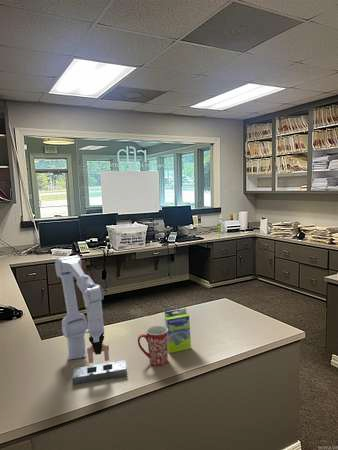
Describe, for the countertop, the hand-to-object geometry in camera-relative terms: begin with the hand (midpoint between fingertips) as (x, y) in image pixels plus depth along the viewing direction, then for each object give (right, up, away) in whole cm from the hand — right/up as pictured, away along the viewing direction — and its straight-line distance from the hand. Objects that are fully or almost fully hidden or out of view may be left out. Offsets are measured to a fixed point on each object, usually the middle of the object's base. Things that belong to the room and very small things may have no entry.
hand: (98, 352), depth 127 cm
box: (+32, -6, +18) cm, 37 cm away
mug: (+21, -8, +9) cm, 24 cm away
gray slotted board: (+1, -10, +1) cm, 10 cm away
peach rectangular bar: (0, -3, 0) cm, 3 cm away
